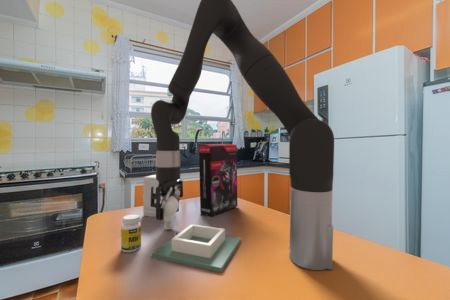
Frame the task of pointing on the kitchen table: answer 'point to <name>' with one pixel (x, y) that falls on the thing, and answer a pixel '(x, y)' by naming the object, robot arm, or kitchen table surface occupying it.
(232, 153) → the graphics card box
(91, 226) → the kitchen table surface
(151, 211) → the supplement box
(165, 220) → the lightbulb
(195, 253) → the board
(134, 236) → the supplement bottle
